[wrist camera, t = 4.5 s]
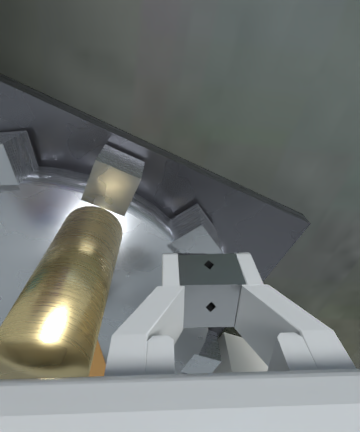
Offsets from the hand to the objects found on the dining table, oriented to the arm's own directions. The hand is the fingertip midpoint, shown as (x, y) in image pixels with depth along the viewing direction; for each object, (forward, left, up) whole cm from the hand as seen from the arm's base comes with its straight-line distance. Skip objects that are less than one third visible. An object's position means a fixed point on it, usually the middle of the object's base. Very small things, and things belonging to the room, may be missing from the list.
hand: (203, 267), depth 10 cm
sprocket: (+4, +8, -4) cm, 10 cm away
